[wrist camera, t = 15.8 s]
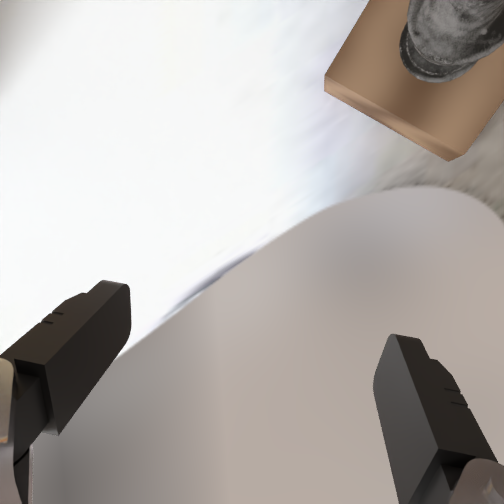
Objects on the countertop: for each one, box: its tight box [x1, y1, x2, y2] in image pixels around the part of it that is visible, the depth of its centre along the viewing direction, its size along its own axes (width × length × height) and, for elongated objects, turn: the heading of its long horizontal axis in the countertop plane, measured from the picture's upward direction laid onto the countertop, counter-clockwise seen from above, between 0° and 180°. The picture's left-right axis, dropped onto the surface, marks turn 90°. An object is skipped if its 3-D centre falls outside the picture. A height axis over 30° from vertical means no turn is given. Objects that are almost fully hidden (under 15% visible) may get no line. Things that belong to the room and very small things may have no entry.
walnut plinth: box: [324, 0, 504, 162], centre depth 24 cm, size 11×11×3 cm
